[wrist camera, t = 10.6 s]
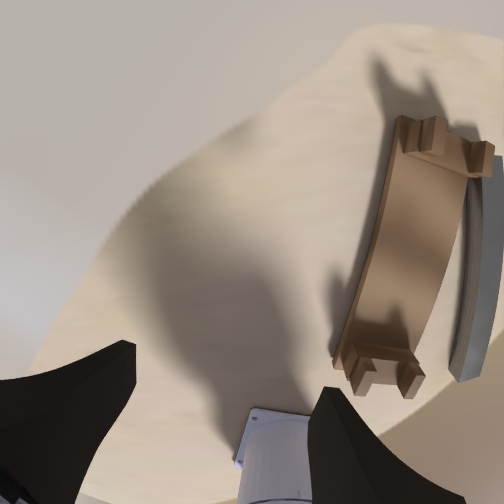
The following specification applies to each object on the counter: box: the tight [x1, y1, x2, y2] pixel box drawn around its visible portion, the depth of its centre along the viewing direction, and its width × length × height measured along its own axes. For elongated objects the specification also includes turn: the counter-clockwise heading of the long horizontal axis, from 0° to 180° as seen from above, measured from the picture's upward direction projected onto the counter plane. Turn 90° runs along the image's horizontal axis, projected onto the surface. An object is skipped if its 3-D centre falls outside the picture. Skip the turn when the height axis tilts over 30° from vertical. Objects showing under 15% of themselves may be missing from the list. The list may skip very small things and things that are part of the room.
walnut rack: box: [332, 115, 495, 399], centre depth 17 cm, size 18×6×5 cm, turn 169°
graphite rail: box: [448, 155, 504, 383], centre depth 18 cm, size 18×2×2 cm, turn 7°
